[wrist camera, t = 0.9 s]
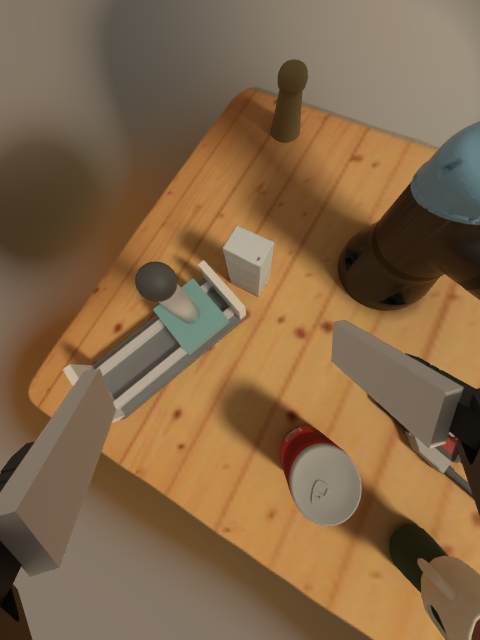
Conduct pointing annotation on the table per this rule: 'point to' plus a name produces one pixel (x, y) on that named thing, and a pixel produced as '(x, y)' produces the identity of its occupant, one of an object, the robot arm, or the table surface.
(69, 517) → the robot arm
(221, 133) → the table surface
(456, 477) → the walkie-talkie
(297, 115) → the olive pawn figure
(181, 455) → the table surface
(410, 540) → the character mug
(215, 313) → the carriage
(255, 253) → the skincare box
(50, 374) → the table surface
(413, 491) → the table surface
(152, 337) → the rail track
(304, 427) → the canned food
